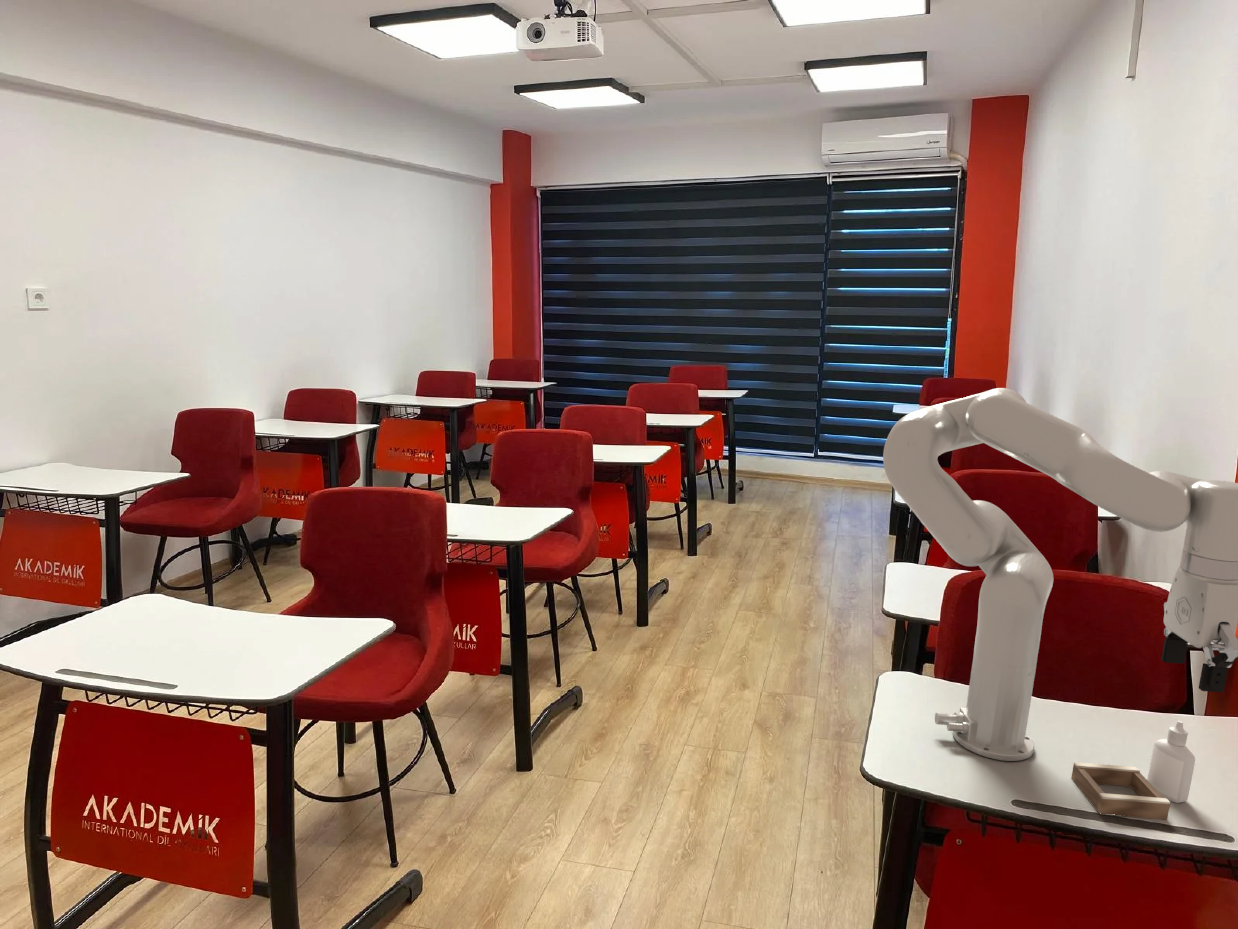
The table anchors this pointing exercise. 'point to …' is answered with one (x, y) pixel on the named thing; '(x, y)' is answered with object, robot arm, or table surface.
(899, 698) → the table surface
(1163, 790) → the eye dropper bottle
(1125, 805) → the walnut collar
